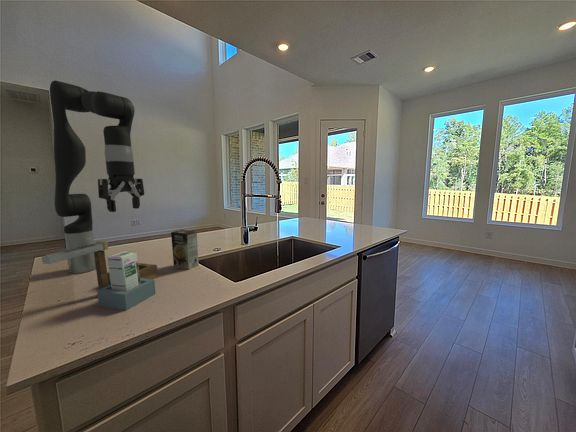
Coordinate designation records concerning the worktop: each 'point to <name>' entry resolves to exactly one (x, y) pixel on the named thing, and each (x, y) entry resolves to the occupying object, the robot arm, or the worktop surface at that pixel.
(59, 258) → the bar
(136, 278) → the syrup box
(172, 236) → the coffee box
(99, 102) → the robot arm
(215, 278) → the worktop surface
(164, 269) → the worktop surface
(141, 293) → the blue-grey hollow box
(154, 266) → the socket block
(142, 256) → the worktop surface
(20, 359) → the worktop surface
